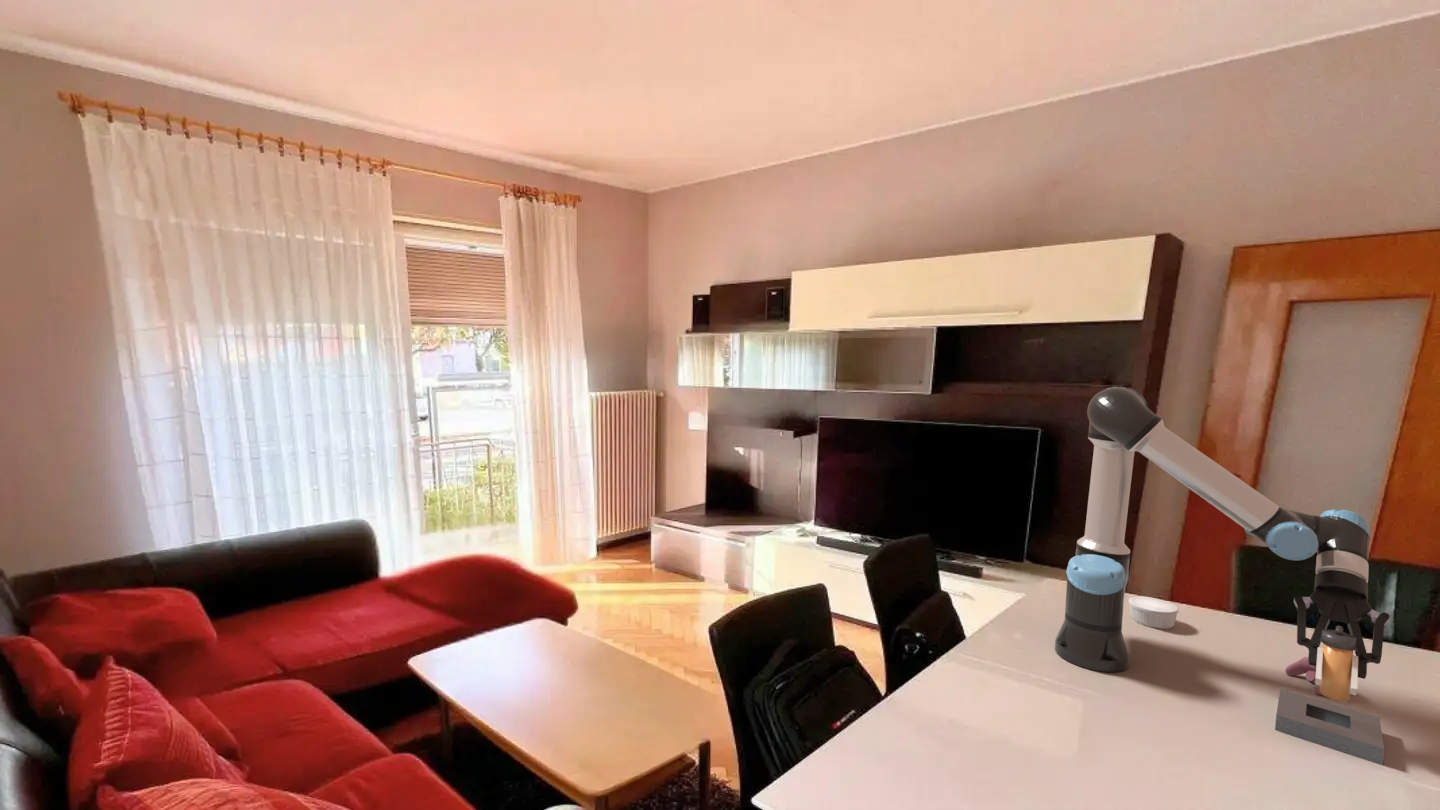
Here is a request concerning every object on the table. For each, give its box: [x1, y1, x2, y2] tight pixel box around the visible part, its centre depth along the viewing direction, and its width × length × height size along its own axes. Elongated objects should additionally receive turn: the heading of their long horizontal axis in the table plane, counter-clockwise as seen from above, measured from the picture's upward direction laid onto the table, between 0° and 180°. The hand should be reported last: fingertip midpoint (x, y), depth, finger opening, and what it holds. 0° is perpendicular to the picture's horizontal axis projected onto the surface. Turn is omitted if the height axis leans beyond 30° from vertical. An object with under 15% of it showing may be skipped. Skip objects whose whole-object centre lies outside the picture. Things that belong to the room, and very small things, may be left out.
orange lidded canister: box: [1320, 625, 1357, 702], centre depth 115 cm, size 5×5×14 cm
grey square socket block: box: [1274, 688, 1385, 766], centre depth 116 cm, size 14×14×3 cm
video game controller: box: [1284, 655, 1323, 696], centre depth 133 cm, size 10×5×7 cm, turn 170°
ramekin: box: [1128, 595, 1179, 630], centre depth 165 cm, size 11×11×5 cm
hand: (1335, 686), depth 112 cm, fingers closed on orange lidded canister, 4 cm apart
